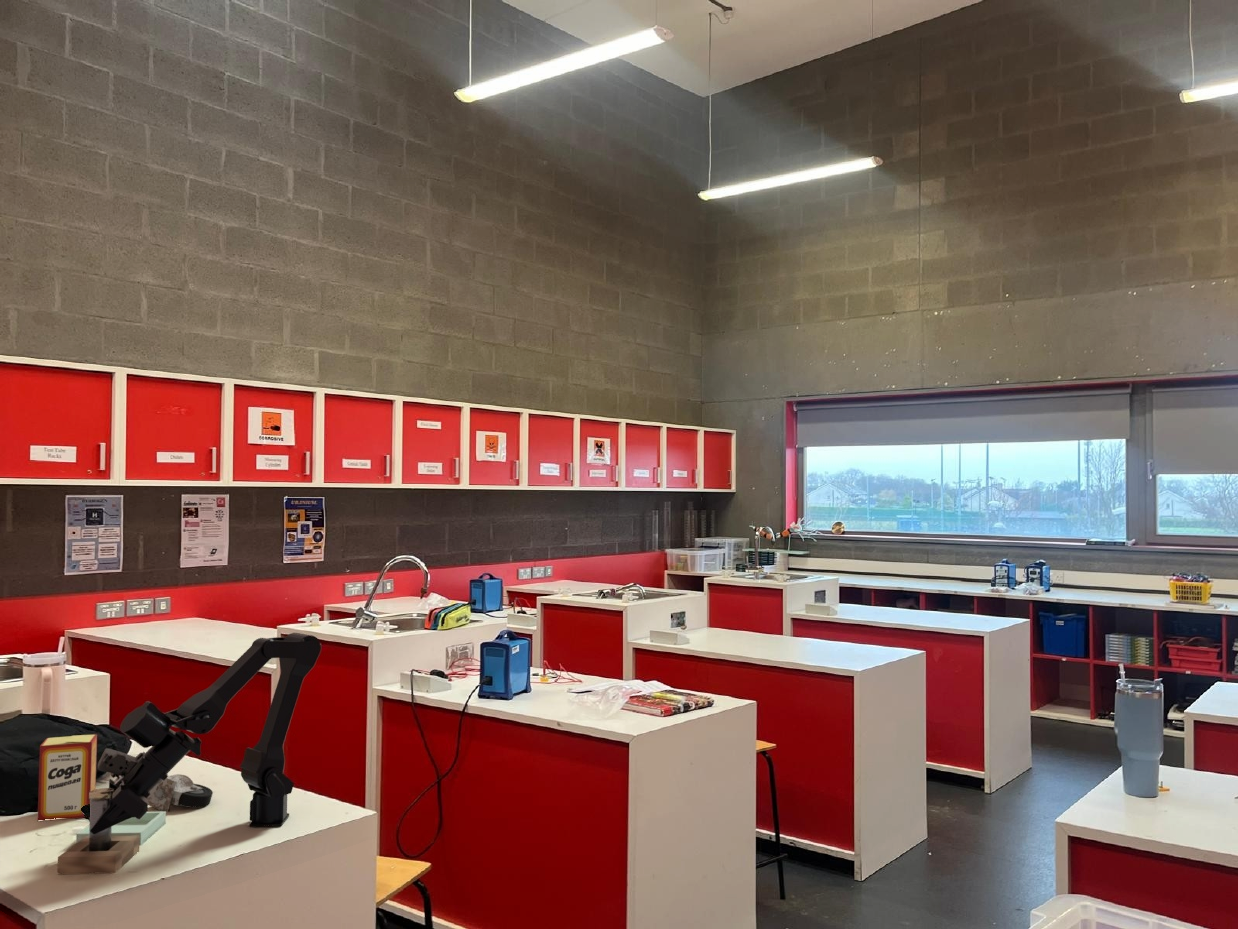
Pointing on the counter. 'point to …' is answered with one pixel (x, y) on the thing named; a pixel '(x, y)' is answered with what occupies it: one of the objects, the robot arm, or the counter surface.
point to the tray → (134, 827)
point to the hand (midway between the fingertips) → (91, 828)
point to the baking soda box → (66, 776)
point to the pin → (97, 807)
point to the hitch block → (98, 856)
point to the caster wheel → (178, 793)
